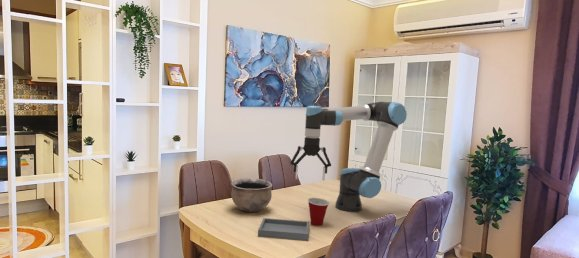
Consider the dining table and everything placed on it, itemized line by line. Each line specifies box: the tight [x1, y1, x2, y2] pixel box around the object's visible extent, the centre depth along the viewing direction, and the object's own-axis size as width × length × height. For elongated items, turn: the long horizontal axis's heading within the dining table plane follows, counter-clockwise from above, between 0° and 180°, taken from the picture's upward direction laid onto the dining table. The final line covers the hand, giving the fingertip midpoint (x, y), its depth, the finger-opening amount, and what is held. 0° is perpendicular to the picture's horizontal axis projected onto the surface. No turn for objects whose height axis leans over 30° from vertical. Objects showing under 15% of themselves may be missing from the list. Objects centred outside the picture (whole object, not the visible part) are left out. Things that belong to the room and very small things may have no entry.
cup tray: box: [257, 217, 310, 242], centre depth 166 cm, size 22×16×3 cm
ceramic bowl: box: [230, 178, 273, 213], centre depth 195 cm, size 22×22×15 cm
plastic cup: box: [307, 197, 330, 227], centre depth 178 cm, size 11×11×12 cm
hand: (309, 179), depth 180 cm, fingers open, 13 cm apart
